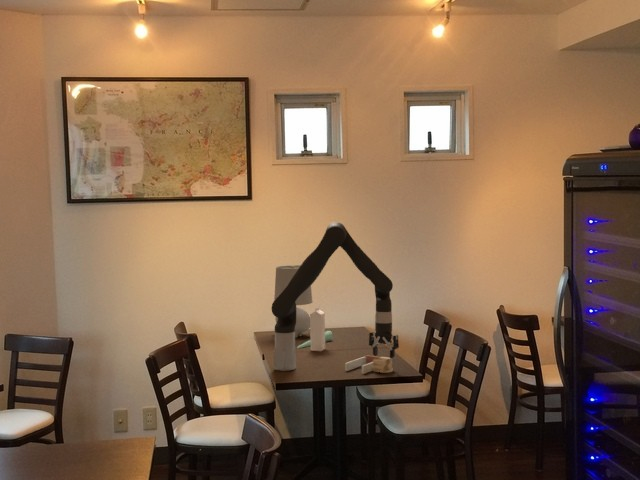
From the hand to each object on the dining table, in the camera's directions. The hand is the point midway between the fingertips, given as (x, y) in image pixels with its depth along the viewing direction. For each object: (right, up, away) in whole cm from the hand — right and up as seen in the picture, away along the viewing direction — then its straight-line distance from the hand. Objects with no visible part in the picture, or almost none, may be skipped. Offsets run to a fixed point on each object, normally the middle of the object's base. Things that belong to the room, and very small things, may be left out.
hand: (383, 356), depth 315 cm
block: (-1, -6, -1) cm, 6 cm away
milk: (-30, -4, +46) cm, 55 cm away
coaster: (0, -6, 0) cm, 6 cm away
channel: (-8, -6, +5) cm, 11 cm away
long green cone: (-32, -4, +60) cm, 68 cm away
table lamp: (-44, -2, +83) cm, 94 cm away
